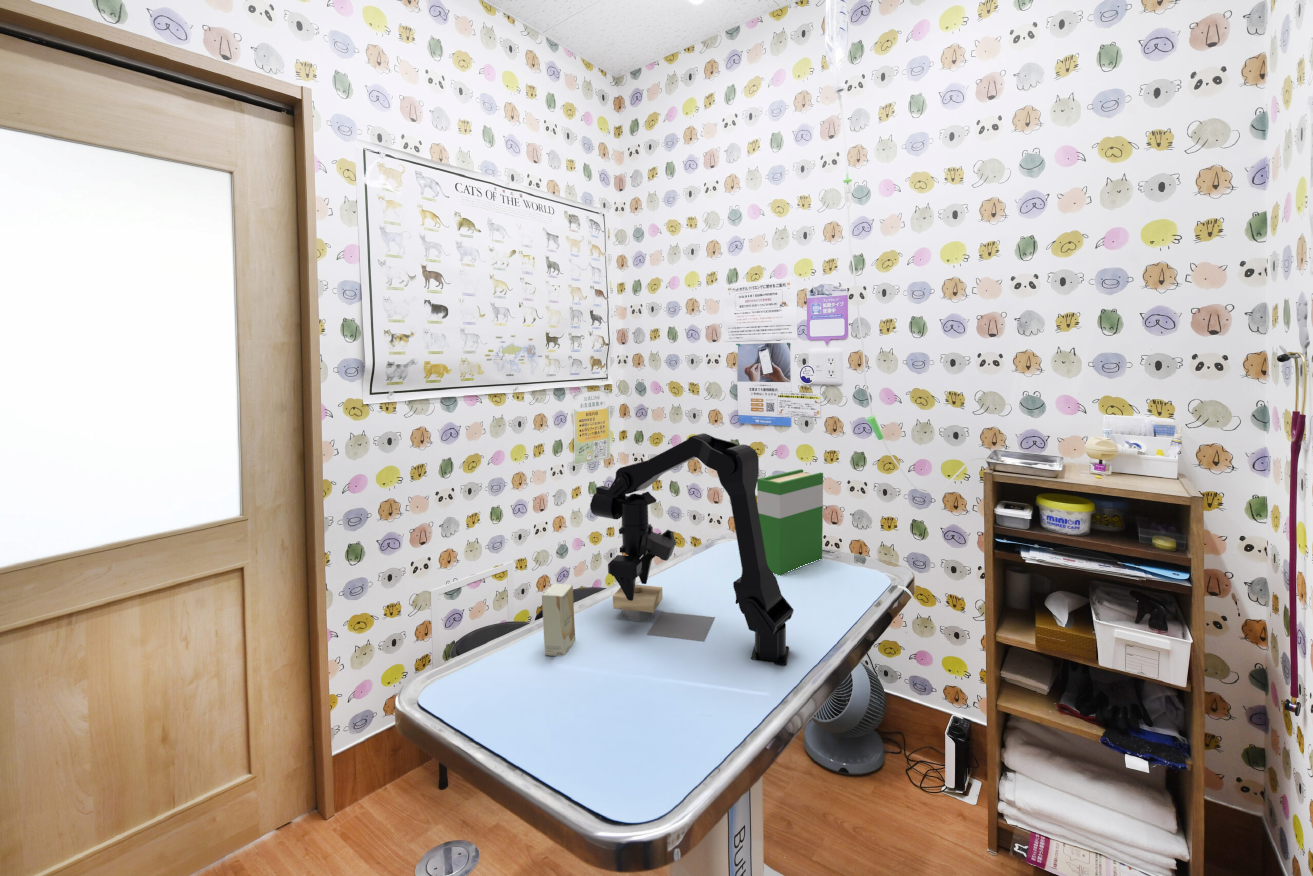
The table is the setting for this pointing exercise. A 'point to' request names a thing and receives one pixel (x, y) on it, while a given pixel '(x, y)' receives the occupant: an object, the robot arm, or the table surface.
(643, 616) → the bowl
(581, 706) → the table surface
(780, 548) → the hardback book
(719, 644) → the table surface
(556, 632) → the skincare box
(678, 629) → the mat
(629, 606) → the lid
